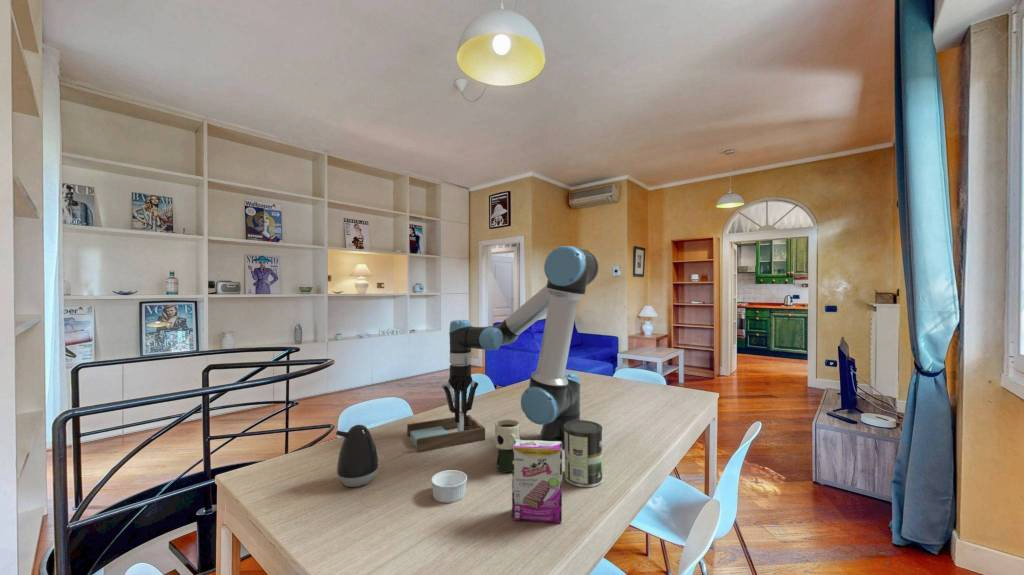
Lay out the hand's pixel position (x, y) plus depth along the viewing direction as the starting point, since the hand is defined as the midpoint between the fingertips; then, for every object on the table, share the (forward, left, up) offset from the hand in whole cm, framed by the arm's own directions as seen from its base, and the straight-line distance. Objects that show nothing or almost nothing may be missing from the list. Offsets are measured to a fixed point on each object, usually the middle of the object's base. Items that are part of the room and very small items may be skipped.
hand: (460, 431), depth 137 cm
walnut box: (0, +5, -1) cm, 6 cm away
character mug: (-31, -4, -2) cm, 31 cm away
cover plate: (0, +11, -2) cm, 11 cm away
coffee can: (-45, -20, -2) cm, 49 cm away
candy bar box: (-55, 0, -2) cm, 55 cm away
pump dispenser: (-20, +35, -2) cm, 41 cm away
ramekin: (-37, +15, -2) cm, 40 cm away
